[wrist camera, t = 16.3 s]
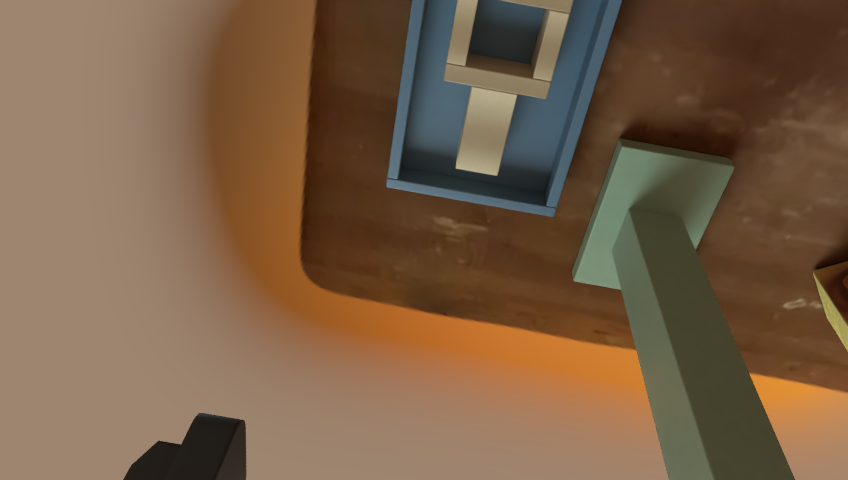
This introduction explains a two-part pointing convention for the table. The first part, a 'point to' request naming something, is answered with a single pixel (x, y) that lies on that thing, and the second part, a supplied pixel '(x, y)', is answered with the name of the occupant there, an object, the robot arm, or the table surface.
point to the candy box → (835, 296)
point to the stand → (678, 312)
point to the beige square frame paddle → (499, 82)
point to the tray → (532, 117)
